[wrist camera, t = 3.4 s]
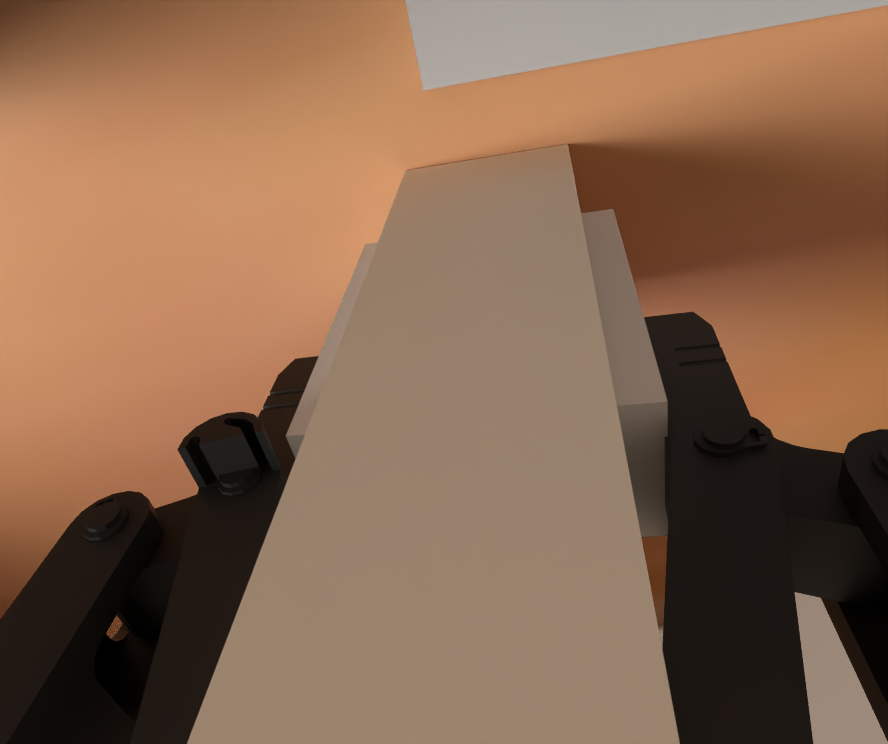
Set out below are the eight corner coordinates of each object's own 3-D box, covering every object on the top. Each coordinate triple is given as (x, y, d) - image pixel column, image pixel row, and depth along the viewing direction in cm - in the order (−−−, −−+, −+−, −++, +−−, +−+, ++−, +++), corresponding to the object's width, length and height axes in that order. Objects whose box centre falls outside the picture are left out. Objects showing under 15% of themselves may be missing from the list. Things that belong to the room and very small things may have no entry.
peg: (437, 307, 19) (321, 924, 8) (405, 170, 17) (179, 760, 6) (580, 289, 18) (679, 942, 7) (567, 144, 16) (682, 762, 5)
